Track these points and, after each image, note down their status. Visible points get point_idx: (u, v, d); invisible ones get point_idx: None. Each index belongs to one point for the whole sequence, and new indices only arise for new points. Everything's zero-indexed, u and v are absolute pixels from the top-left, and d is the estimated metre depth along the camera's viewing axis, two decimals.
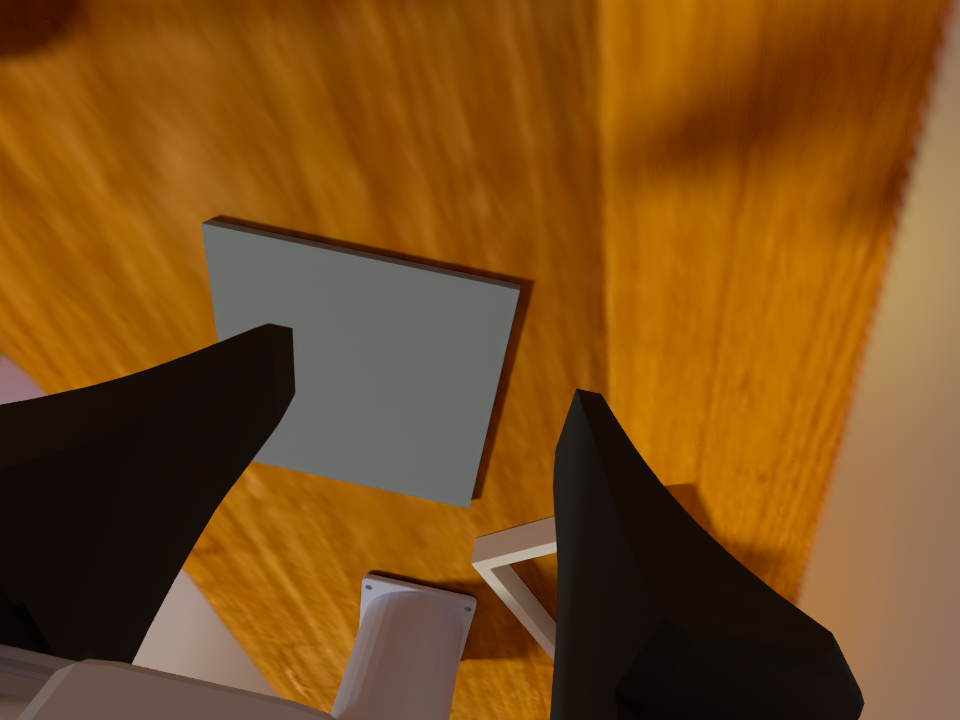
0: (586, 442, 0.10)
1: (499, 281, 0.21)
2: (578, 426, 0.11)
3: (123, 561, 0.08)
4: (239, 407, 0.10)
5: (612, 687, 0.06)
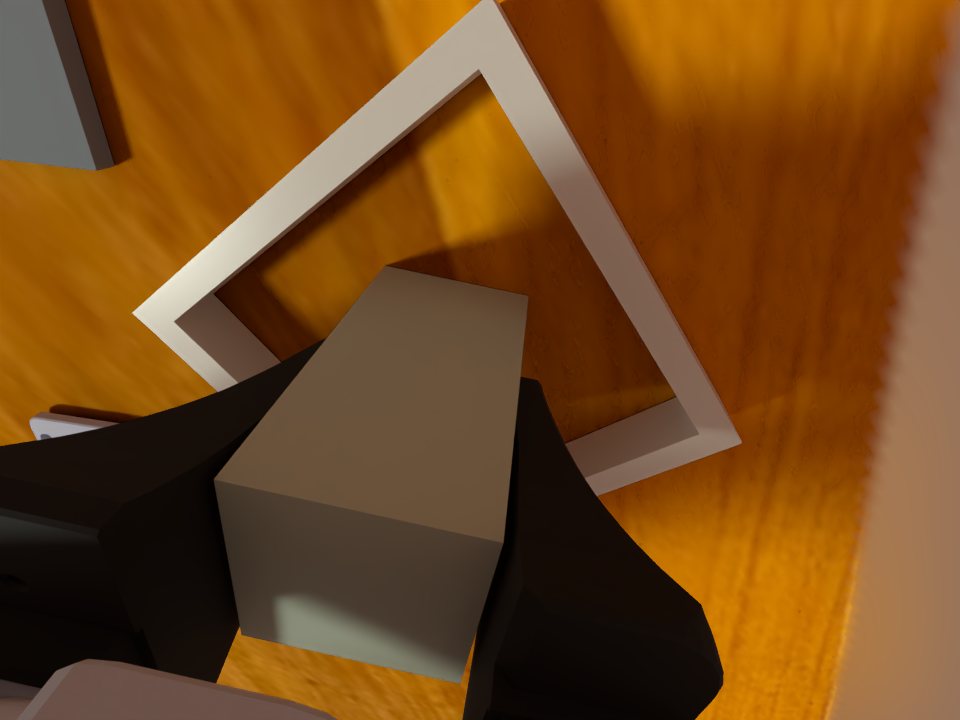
0: None
1: None
2: None
3: (216, 582, 0.08)
4: None
5: (494, 661, 0.06)
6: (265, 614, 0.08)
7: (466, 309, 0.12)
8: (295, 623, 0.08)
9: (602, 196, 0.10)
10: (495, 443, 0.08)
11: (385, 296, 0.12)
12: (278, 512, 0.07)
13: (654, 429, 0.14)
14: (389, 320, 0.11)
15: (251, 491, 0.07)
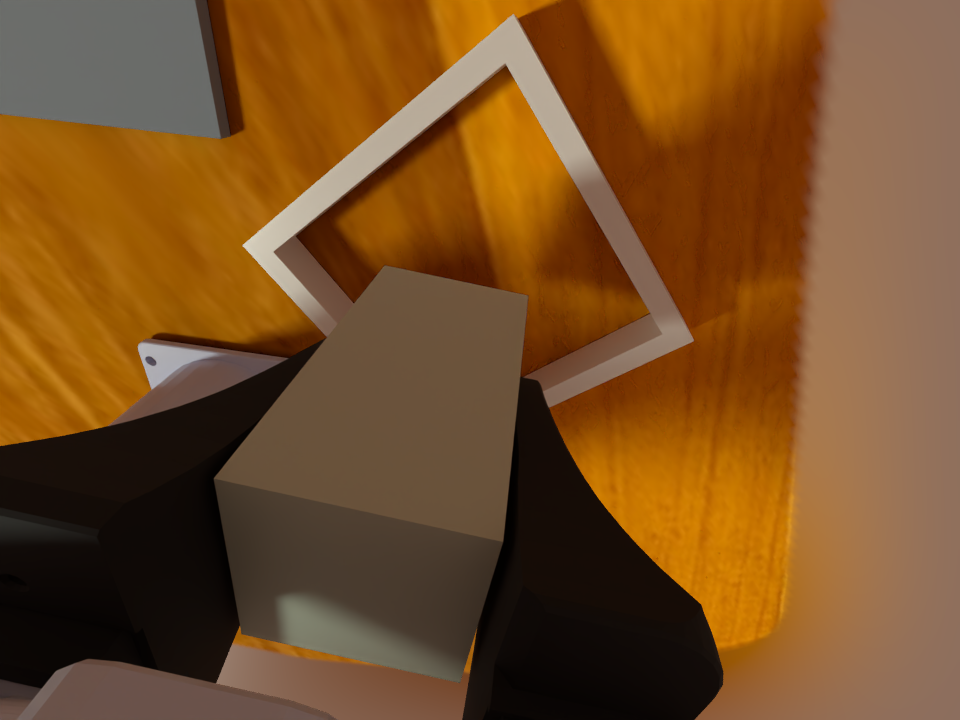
0: None
1: None
2: None
3: (216, 582, 0.08)
4: None
5: (494, 661, 0.06)
6: (265, 613, 0.08)
7: (466, 308, 0.12)
8: (295, 622, 0.08)
9: (588, 151, 0.15)
10: (495, 442, 0.08)
11: (385, 295, 0.12)
12: (279, 510, 0.07)
13: (630, 336, 0.18)
14: (389, 319, 0.11)
15: (251, 490, 0.07)
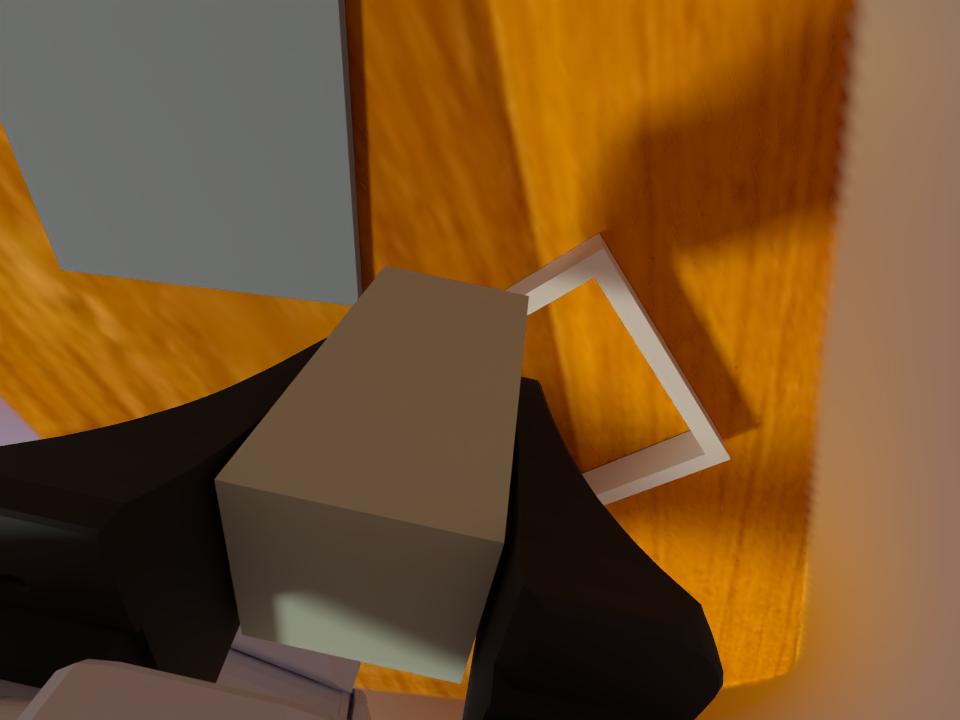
0: None
1: None
2: None
3: (216, 582, 0.08)
4: None
5: (494, 661, 0.06)
6: (266, 614, 0.08)
7: (466, 309, 0.12)
8: (296, 623, 0.08)
9: (654, 333, 0.19)
10: (496, 443, 0.08)
11: (385, 296, 0.12)
12: (280, 512, 0.07)
13: (678, 450, 0.23)
14: (389, 320, 0.11)
15: (252, 491, 0.07)
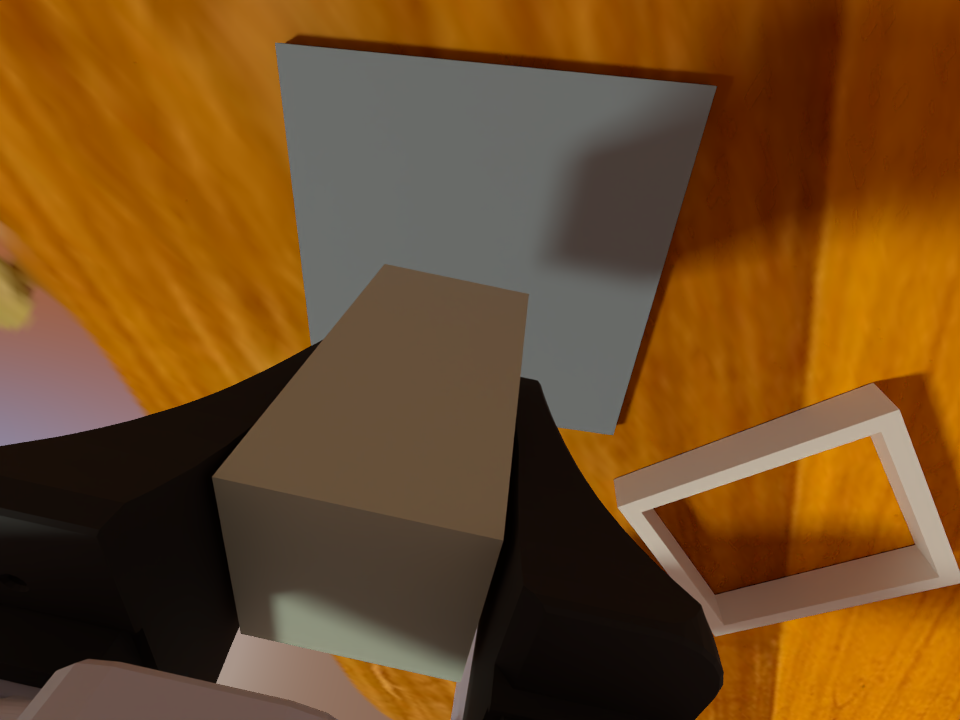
0: None
1: (682, 82, 0.15)
2: None
3: (216, 582, 0.08)
4: None
5: (494, 661, 0.06)
6: (264, 613, 0.08)
7: (466, 307, 0.12)
8: (294, 622, 0.08)
9: (923, 478, 0.20)
10: (495, 441, 0.08)
11: (385, 294, 0.12)
12: (278, 509, 0.07)
13: (902, 567, 0.24)
14: (388, 317, 0.11)
15: (250, 489, 0.07)
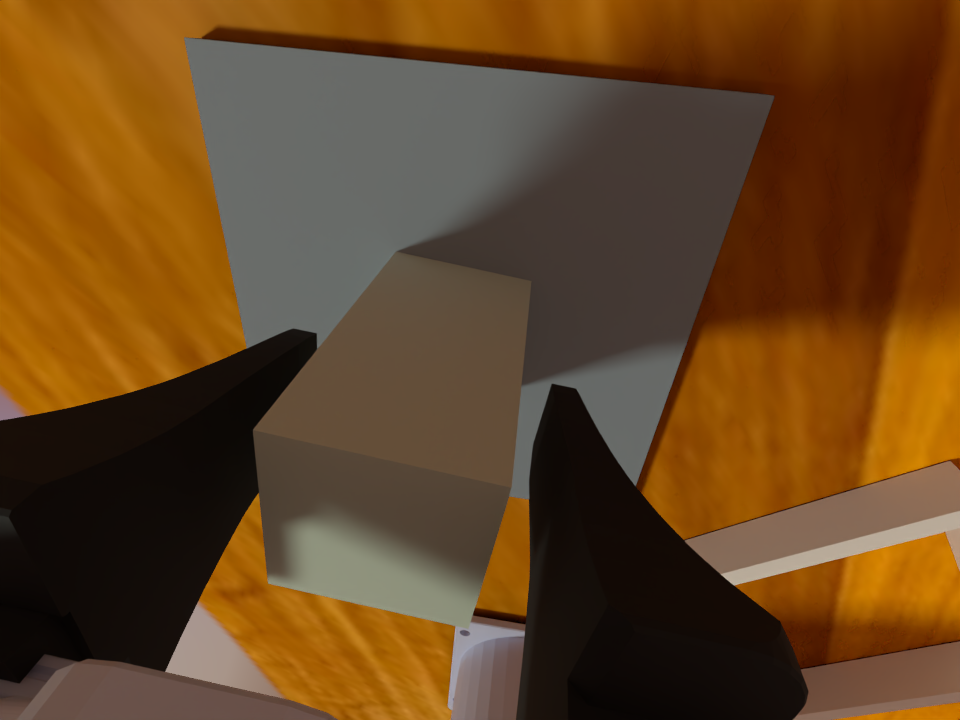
0: (557, 436, 0.10)
1: (726, 90, 0.12)
2: (551, 420, 0.11)
3: (160, 569, 0.08)
4: None
5: (566, 677, 0.06)
6: (291, 562, 0.09)
7: (473, 291, 0.13)
8: (318, 570, 0.09)
9: None
10: (502, 406, 0.09)
11: (397, 278, 0.13)
12: (310, 460, 0.08)
13: None
14: (402, 299, 0.12)
15: (286, 441, 0.07)
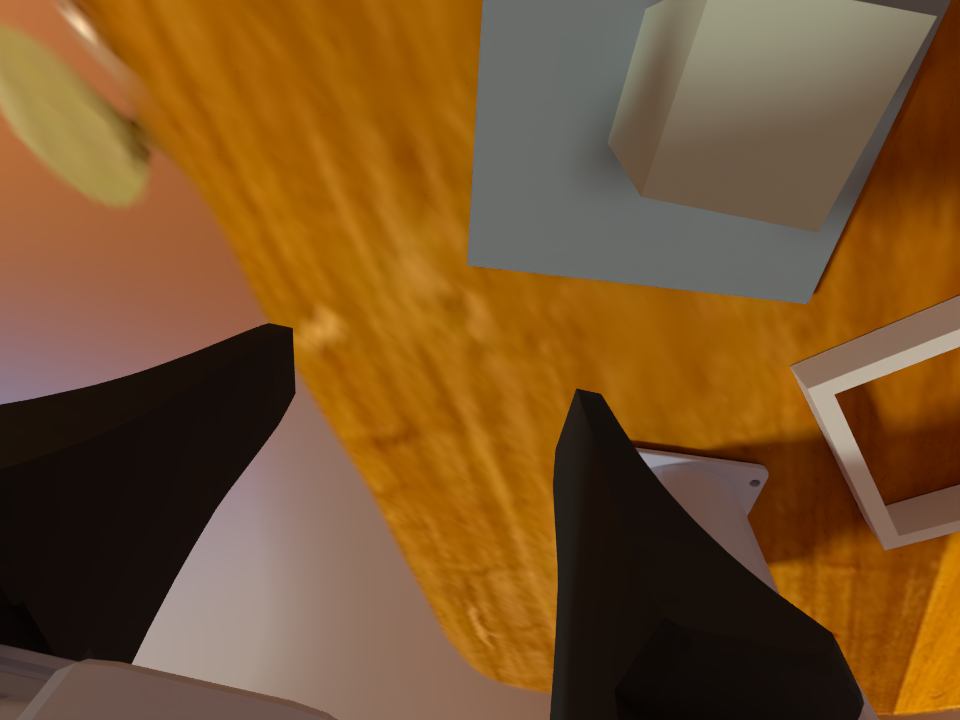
0: (586, 442, 0.10)
1: None
2: (578, 426, 0.11)
3: (123, 561, 0.08)
4: (239, 408, 0.10)
5: (612, 687, 0.06)
6: (677, 160, 0.11)
7: None
8: (700, 169, 0.11)
9: None
10: None
11: None
12: (756, 7, 0.09)
13: None
14: None
15: None
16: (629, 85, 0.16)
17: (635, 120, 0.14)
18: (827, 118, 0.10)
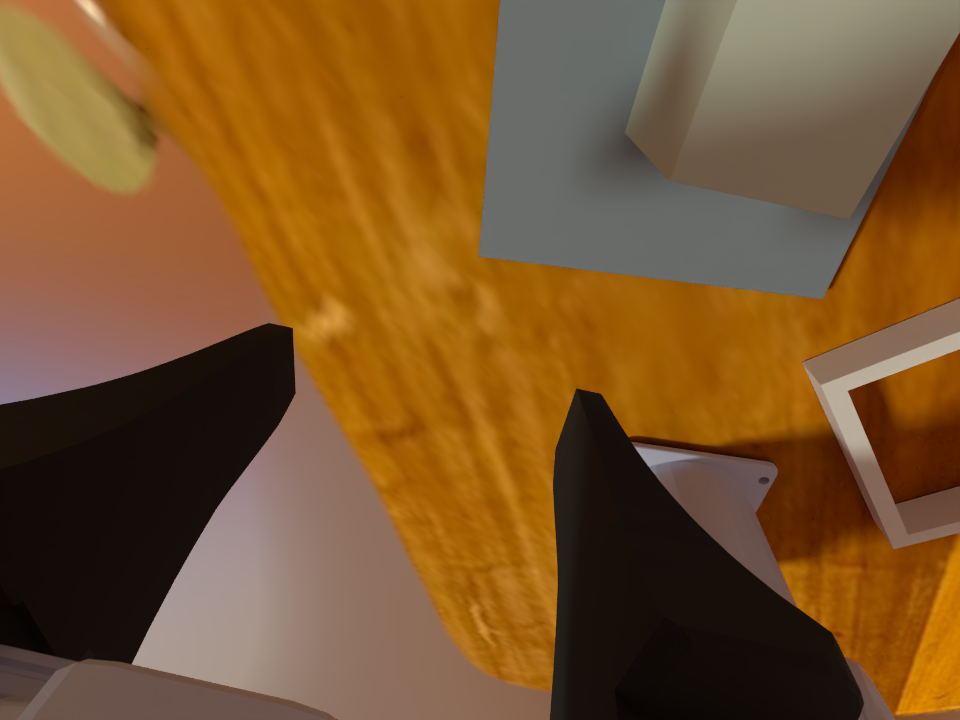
0: (586, 442, 0.10)
1: None
2: (578, 426, 0.11)
3: (123, 561, 0.08)
4: (239, 407, 0.10)
5: (612, 687, 0.06)
6: (708, 143, 0.10)
7: None
8: (731, 152, 0.10)
9: None
10: None
11: None
12: None
13: None
14: None
15: None
16: (649, 73, 0.15)
17: (658, 106, 0.13)
18: (864, 101, 0.10)
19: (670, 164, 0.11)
